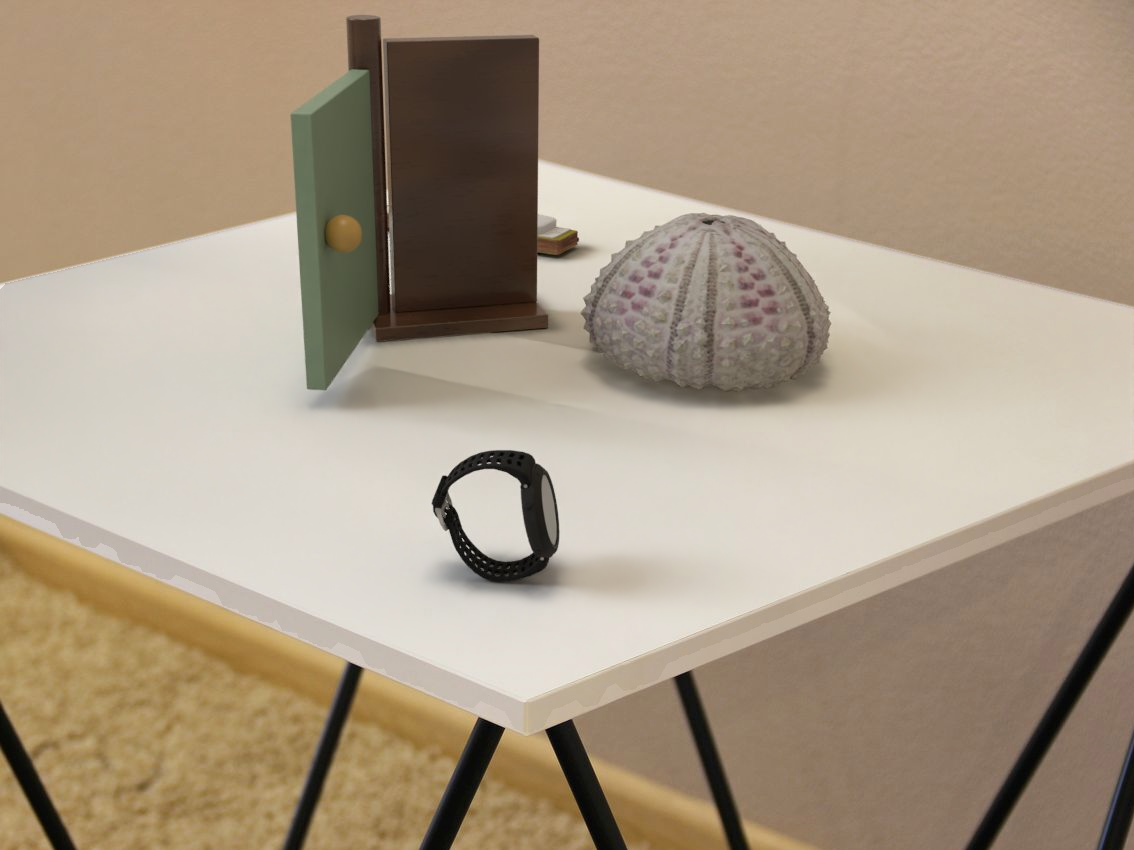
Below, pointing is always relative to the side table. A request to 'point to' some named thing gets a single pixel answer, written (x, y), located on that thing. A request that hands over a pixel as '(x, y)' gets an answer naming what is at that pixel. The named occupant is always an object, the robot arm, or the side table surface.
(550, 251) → the harmonica
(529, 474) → the smartwatch
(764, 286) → the sea urchin shell
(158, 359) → the side table surface
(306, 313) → the door
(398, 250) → the door frame
